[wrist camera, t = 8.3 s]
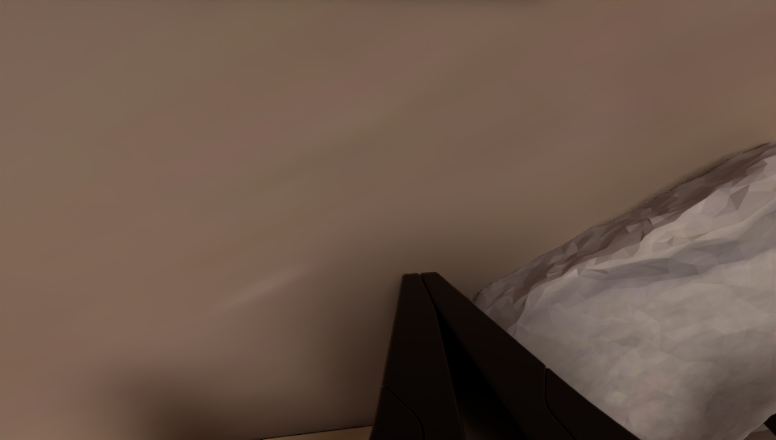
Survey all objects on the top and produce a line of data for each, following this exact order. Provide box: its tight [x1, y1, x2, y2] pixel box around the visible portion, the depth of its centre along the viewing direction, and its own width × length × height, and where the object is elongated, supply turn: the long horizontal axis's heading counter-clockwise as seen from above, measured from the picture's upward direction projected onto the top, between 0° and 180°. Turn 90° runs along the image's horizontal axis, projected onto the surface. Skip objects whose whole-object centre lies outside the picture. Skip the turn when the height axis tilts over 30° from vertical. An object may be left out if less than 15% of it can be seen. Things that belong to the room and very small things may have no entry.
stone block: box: [473, 141, 776, 440], centre depth 11 cm, size 12×5×10 cm
